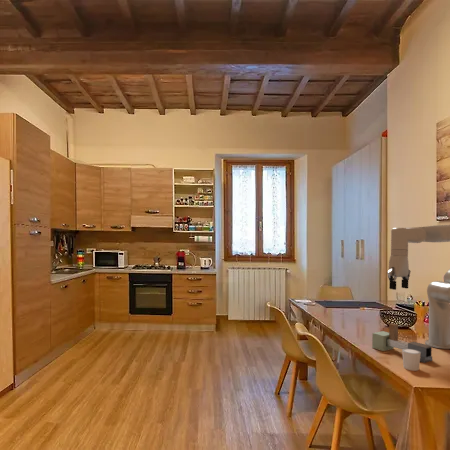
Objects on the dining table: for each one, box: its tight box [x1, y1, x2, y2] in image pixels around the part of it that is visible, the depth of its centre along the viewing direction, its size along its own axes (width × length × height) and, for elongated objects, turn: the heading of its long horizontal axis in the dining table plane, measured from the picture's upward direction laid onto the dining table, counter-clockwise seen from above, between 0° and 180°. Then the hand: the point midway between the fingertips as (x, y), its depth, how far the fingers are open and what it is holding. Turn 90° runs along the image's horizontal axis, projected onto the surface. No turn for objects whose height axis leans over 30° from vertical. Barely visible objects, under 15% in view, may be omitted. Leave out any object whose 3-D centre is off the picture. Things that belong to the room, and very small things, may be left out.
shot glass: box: [401, 349, 421, 372], centre depth 157 cm, size 7×7×7 cm
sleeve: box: [408, 341, 433, 364], centre depth 169 cm, size 6×8×6 cm
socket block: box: [371, 330, 395, 352], centre depth 184 cm, size 8×6×7 cm
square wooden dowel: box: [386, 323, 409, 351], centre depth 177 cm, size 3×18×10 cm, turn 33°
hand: (398, 288), depth 186 cm, fingers open, 9 cm apart
